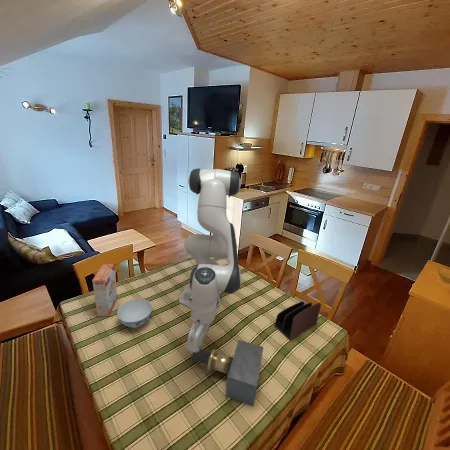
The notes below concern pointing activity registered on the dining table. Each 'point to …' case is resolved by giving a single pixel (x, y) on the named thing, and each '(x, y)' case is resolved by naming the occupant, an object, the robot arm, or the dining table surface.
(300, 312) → the letter holder
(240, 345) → the housing
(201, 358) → the brass flanged shaft
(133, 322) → the chinaware
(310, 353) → the dining table surface
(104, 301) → the cracker box
